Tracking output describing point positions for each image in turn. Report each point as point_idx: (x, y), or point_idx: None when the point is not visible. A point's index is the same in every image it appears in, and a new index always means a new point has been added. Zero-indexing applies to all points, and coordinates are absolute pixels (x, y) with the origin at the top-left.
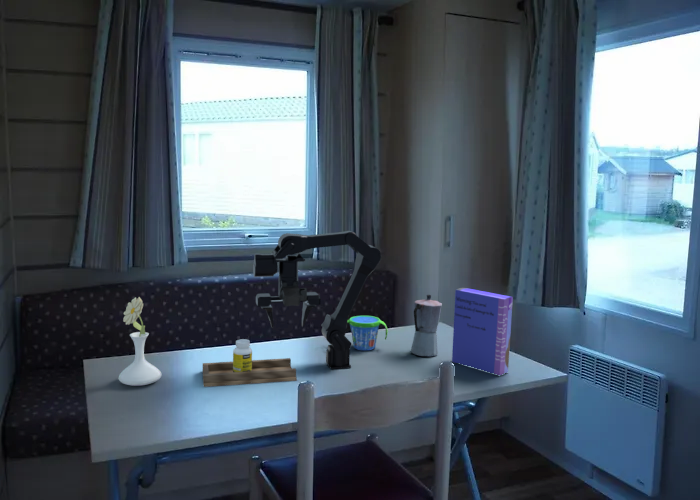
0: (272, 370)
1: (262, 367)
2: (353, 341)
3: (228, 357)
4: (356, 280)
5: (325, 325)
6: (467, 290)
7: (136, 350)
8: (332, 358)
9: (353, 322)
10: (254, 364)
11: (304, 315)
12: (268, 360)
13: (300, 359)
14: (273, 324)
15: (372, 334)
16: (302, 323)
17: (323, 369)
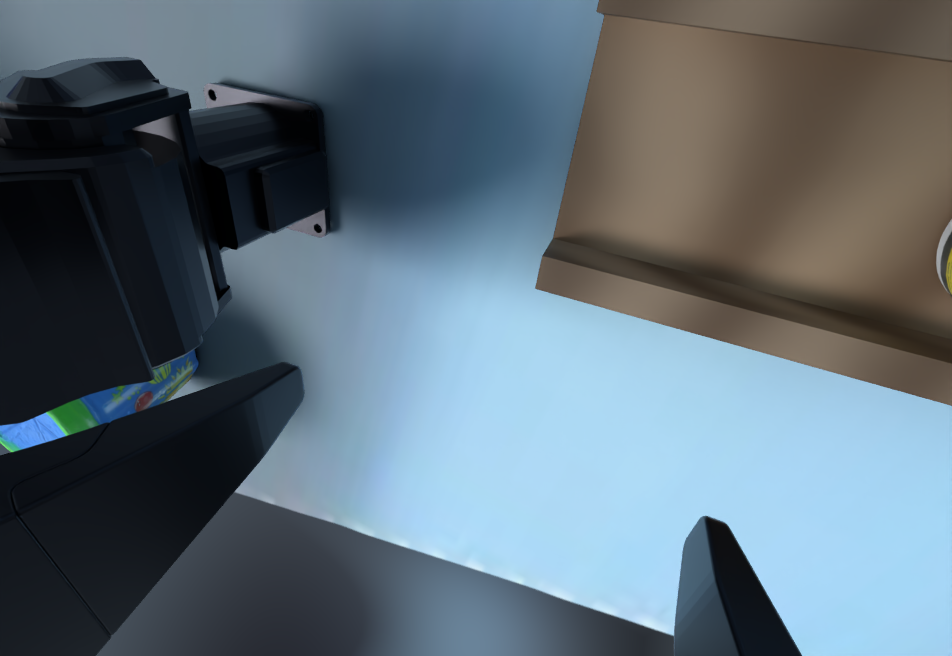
0: (862, 18)
1: (766, 292)
2: (172, 367)
3: (819, 559)
4: None
5: (76, 295)
6: None
7: None
8: (268, 148)
9: (61, 418)
10: (842, 325)
11: (121, 455)
12: (714, 313)
13: (449, 345)
14: (716, 564)
15: None
16: (270, 398)
17: (365, 128)
